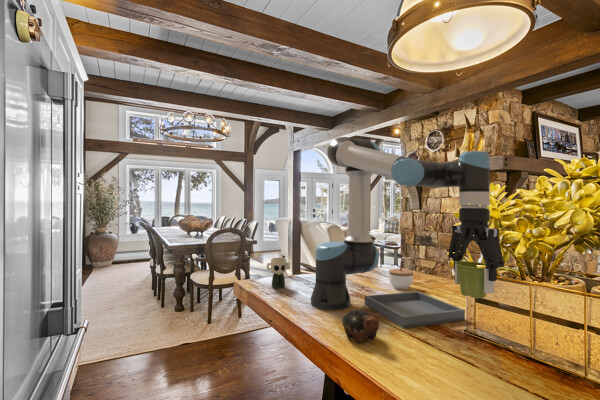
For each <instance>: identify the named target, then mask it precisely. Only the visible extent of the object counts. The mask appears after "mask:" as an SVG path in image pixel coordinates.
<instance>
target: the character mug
mask: <svg viewBox="0 0 600 400" xmlns="http://www.w3.org/2000/svg"><path fill="white" fill-rule="evenodd" d="M290 269H291V262H289V261H287V258H286V257H272V258H270V262H267V263H266V270H267V271H270V272H271V273H272V274H273V275H272V278H271V279H272V280H271V287H272V288H284V287H286V280H285V273H286V272H287V270H290Z"/></svg>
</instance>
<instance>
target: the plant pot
mask: <svg viewBox="0 0 600 400" xmlns="http://www.w3.org/2000/svg"><path fill="white" fill-rule="evenodd" d="M455 264H456V265H457V270H458V273H459V281H460V284H459V286H460V287H459V288H460V289H459V290H460V294H461V295H462V296H464V297H467V296H469V297H471V298H473V299H484V298H486V297H487V294H486V293H484V268H477V266H476V265H485V266H486V267H487V265H486V263H484V262H477V261H469V260H466V261H464V260H461V261H459V262H455Z"/></svg>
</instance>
